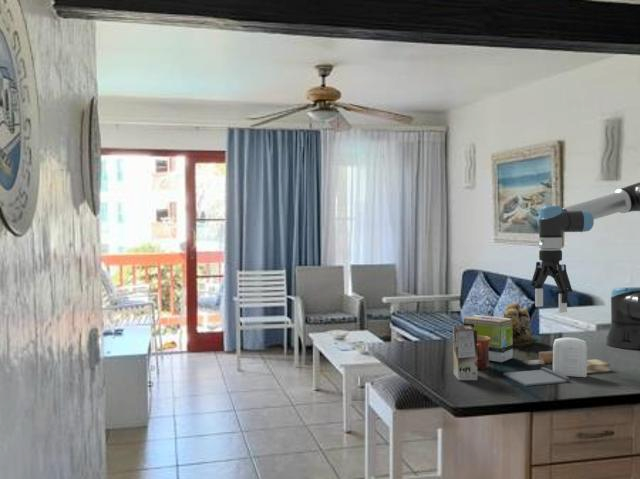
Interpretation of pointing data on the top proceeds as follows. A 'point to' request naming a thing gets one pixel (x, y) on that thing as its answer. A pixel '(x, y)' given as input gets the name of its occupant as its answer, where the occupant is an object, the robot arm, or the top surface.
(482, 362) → the mug
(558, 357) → the photo printer
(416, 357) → the top surface
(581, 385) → the top surface
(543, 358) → the tall brown carton
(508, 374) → the mat
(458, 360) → the coffee box
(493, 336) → the tea box
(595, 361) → the rest
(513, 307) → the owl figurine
